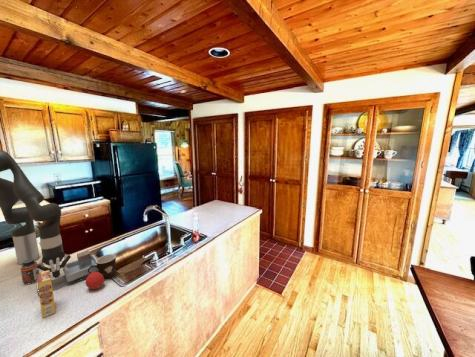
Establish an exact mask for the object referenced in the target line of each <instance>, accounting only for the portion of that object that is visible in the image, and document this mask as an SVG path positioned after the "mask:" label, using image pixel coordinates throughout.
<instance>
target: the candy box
mask: <svg viewBox="0 0 475 357" xmlns="http://www.w3.org/2000/svg"><path fill="white" fill-rule="evenodd" d="M51 275H52V274H51V272H50V270H48V271H42V272H39V274H37V281H36V282H37V285H38V290H39V297H38V298H39V304H40V305H39V306H40V310H41V318H42V319H44V318H46V317H48V316H50V315H53V314H55V313H56V304H55V296H54V291H53V287H52V280H53V279H52V276H51Z"/></svg>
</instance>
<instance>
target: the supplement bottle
mask: <svg viewBox="0 0 475 357" xmlns="http://www.w3.org/2000/svg"><path fill="white" fill-rule="evenodd" d="M37 264H38V262H36V261H34V259H28V260H25V261H23V264H22V265H21V267H20V272H21V273H20V274H21V278H22V279H21V280H22V284H23V283H24V285H29V284H28V283H31V284H33V283H35V281H36V282H37V274H39V273H40V271H39V270H40V269H38V268H37V267H36V265H37ZM32 282H33V283H32Z"/></svg>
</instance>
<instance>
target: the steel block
mask: <svg viewBox="0 0 475 357" xmlns="http://www.w3.org/2000/svg"><path fill="white" fill-rule="evenodd" d="M76 257H77V258H76V259H77V260H78V266H79V269H80V270H82V269H85V268H87V267H90V266H92V262H91V252H90V250H88V249H87V250H83V251H82V252H78V253H76Z"/></svg>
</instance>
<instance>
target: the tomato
mask: <svg viewBox="0 0 475 357" xmlns="http://www.w3.org/2000/svg"><path fill="white" fill-rule="evenodd" d="M103 274H104V273H103ZM103 274H101V273H99V272H93V273H91V274H89V275H88V276H87V278H85V282H84V284H85V286H86V287H87V288H88V289H90V290H96V289H98V288H100V287H102V285H104V282H105V280H104V277H103Z"/></svg>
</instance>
